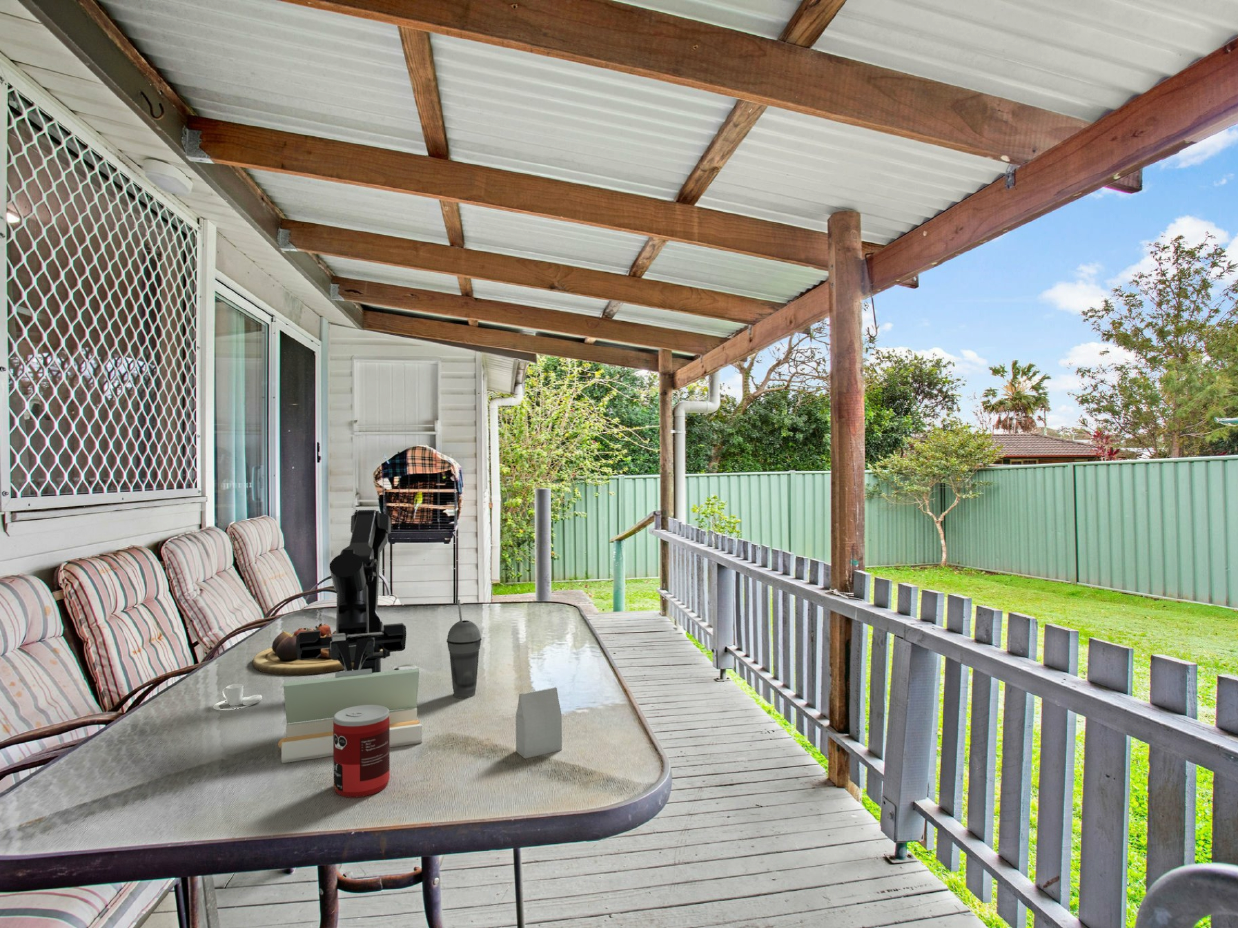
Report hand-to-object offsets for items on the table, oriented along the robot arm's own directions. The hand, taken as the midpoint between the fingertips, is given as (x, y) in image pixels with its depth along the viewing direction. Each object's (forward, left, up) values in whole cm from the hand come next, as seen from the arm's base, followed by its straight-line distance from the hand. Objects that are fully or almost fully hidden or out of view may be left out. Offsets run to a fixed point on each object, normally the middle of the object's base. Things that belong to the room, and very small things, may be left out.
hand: (352, 682), depth 122 cm
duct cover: (-1, 0, -3) cm, 3 cm away
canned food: (+20, +1, -10) cm, 23 cm away
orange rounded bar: (+1, 0, -10) cm, 10 cm away
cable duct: (+1, 0, -10) cm, 10 cm away
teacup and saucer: (-27, -22, -11) cm, 37 cm away
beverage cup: (-18, +22, -10) cm, 30 cm away
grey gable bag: (+17, +29, -10) cm, 35 cm away
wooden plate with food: (-63, -7, -11) cm, 64 cm away
